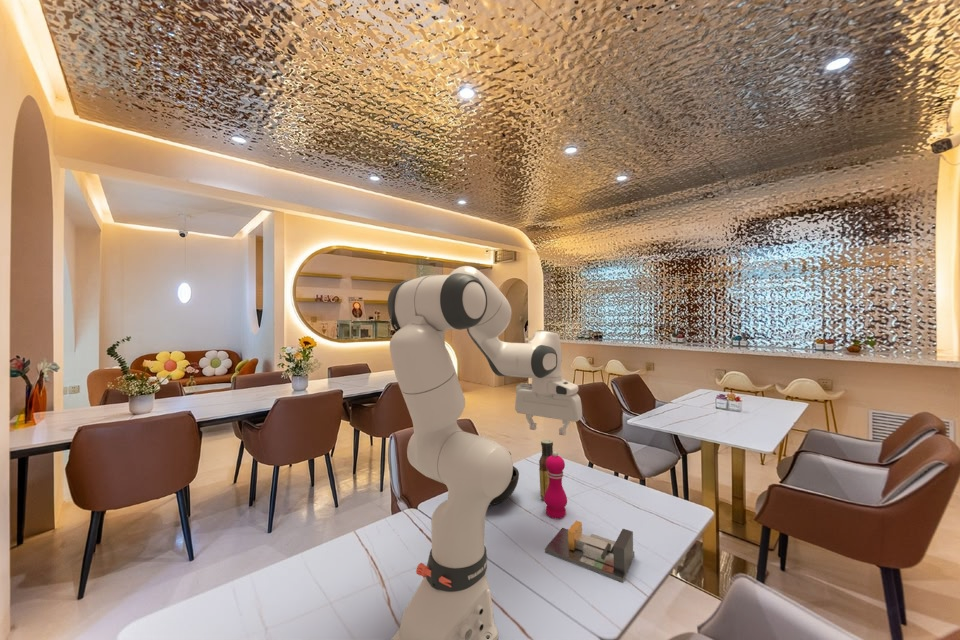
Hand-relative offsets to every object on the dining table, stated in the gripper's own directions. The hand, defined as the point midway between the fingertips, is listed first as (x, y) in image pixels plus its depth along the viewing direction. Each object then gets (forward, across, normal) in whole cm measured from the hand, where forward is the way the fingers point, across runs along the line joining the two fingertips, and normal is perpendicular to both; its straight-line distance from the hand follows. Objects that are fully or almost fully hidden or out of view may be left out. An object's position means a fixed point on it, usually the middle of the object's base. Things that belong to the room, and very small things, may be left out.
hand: (547, 431), depth 108 cm
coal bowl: (+29, -24, +5) cm, 38 cm away
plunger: (+28, +14, -6) cm, 32 cm away
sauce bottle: (+29, -8, +18) cm, 35 cm away
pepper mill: (+29, -2, +10) cm, 31 cm away
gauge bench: (+29, +13, -4) cm, 32 cm away
